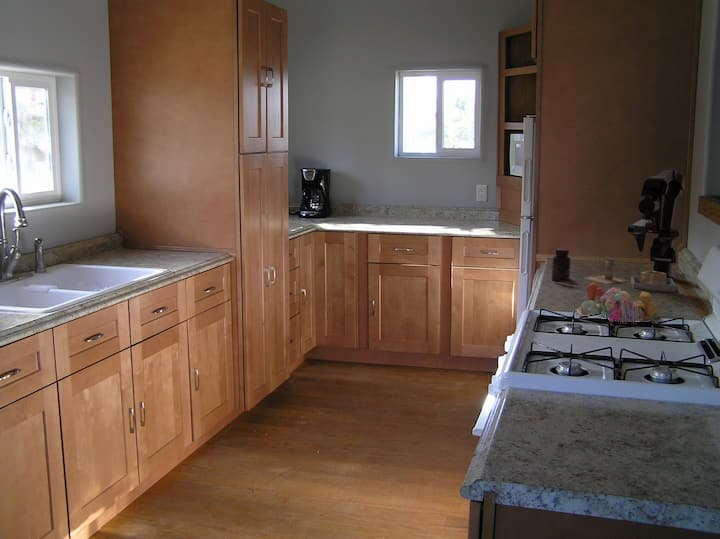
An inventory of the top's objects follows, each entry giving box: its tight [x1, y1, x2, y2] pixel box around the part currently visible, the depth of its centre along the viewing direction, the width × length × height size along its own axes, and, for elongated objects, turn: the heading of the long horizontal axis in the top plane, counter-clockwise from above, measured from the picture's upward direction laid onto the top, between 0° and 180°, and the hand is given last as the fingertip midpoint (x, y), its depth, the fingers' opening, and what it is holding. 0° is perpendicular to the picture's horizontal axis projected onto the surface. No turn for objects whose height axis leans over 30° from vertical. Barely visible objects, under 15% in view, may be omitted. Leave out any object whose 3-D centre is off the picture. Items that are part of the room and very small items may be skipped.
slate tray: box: [630, 276, 677, 293], centre depth 286 cm, size 14×14×2 cm
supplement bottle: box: [551, 248, 572, 283], centre depth 297 cm, size 7×7×12 cm
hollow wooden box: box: [639, 270, 667, 285], centre depth 286 cm, size 6×8×5 cm
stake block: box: [582, 257, 629, 284], centre depth 297 cm, size 12×12×9 cm
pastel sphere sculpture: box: [575, 282, 661, 325], centre depth 242 cm, size 25×24×9 cm
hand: (651, 253), depth 290 cm, fingers open, 9 cm apart
